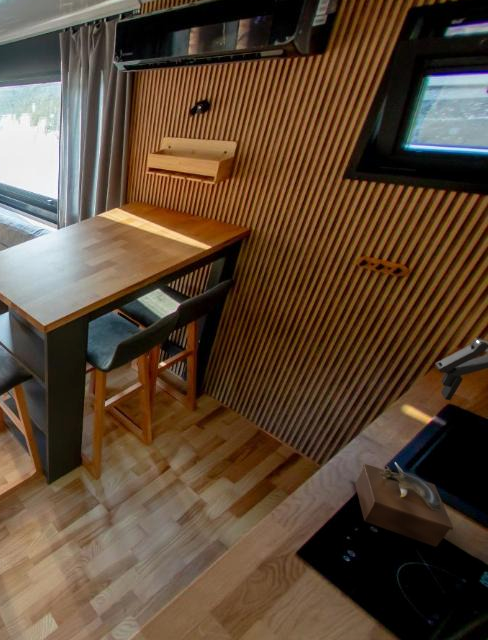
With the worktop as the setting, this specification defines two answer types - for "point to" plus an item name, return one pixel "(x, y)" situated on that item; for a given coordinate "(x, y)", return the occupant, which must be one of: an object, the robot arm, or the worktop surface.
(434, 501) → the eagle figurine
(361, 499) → the walnut pedestal
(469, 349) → the robot arm
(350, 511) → the worktop surface
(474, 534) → the worktop surface
